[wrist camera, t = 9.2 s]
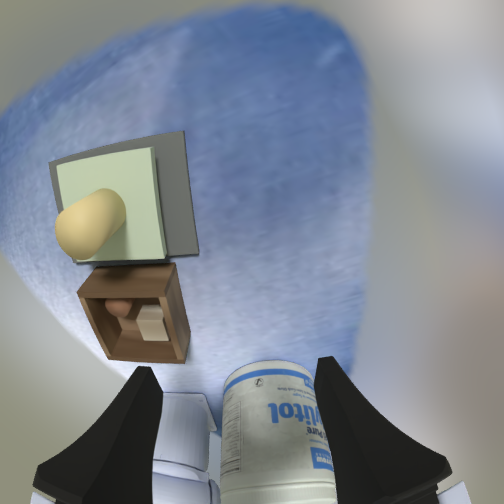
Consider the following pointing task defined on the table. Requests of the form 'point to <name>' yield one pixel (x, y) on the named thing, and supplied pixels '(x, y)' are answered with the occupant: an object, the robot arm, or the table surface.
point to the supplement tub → (274, 438)
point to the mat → (169, 187)
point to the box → (137, 312)
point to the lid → (111, 207)
